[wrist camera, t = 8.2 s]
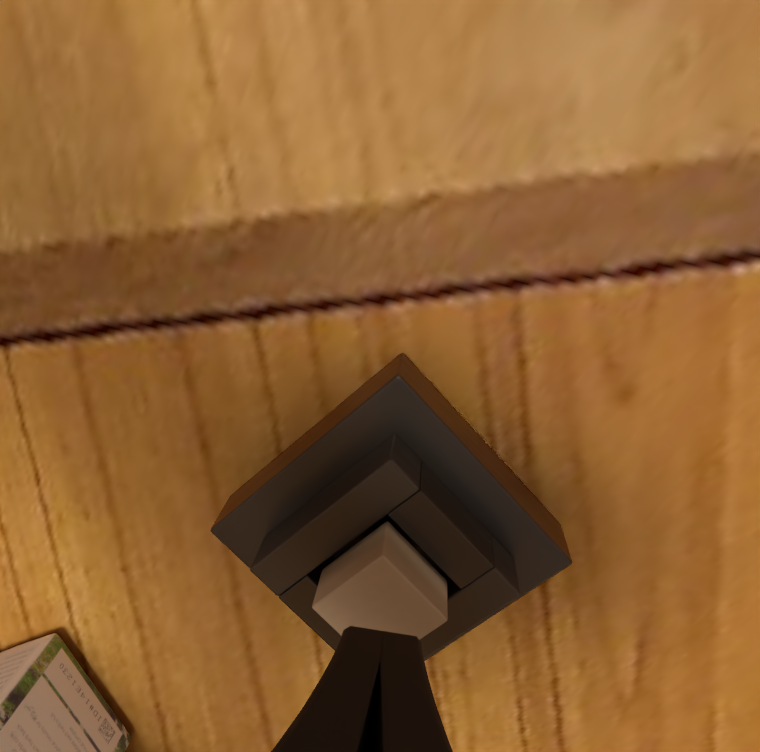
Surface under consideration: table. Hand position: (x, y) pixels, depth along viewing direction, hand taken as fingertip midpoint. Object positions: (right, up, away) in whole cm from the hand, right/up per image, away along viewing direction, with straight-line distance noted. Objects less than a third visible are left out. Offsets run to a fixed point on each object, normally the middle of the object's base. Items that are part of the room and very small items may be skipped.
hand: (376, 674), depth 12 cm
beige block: (0, 0, +7) cm, 7 cm away
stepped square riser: (0, +1, +11) cm, 11 cm away
